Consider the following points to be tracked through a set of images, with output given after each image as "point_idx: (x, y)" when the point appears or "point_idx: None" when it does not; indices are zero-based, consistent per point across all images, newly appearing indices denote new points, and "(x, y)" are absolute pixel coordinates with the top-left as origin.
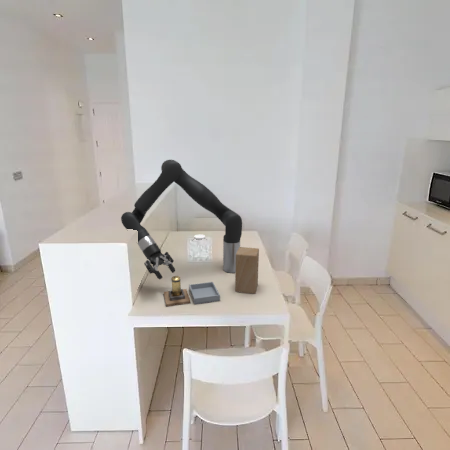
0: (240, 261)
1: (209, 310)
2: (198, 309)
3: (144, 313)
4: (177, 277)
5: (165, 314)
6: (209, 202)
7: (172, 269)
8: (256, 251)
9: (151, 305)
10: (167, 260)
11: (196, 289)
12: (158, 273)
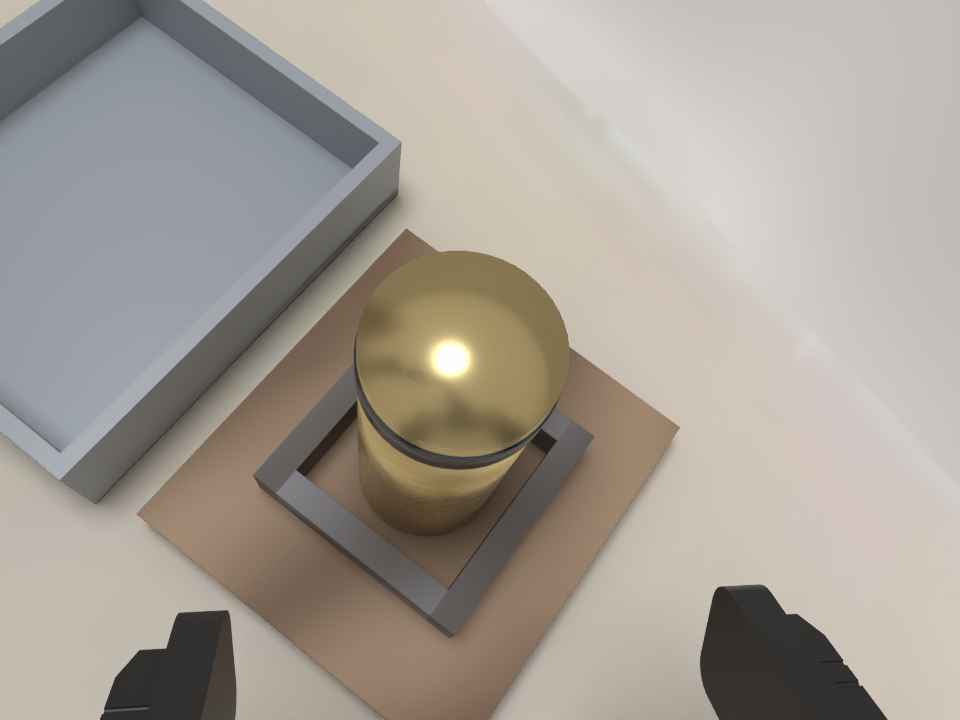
0: None
1: (393, 9)
2: (452, 104)
3: (955, 546)
4: (429, 327)
5: (777, 325)
6: None
7: (219, 693)
8: None
9: None
10: None
11: (35, 397)
12: (832, 707)
